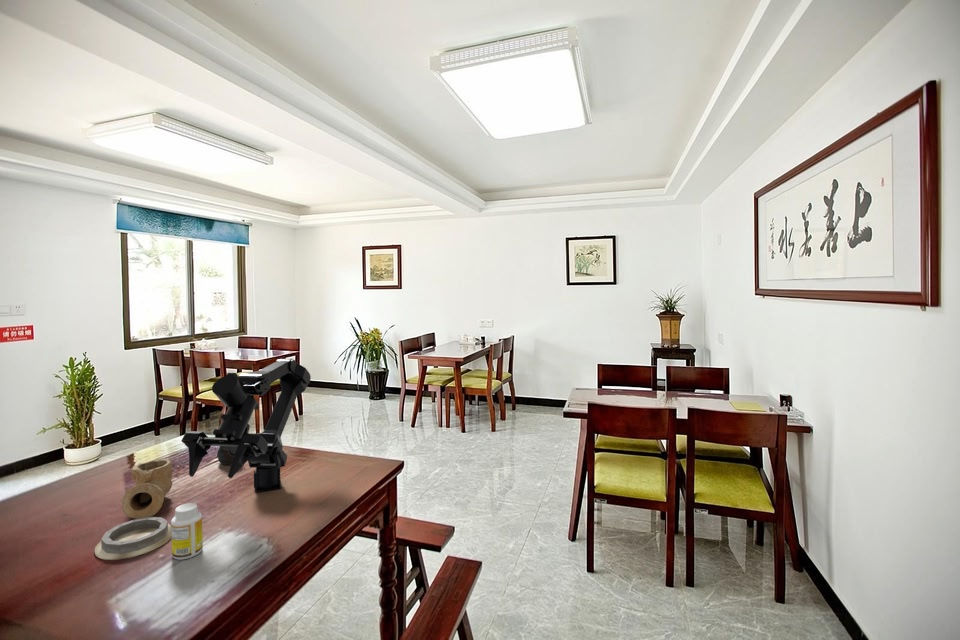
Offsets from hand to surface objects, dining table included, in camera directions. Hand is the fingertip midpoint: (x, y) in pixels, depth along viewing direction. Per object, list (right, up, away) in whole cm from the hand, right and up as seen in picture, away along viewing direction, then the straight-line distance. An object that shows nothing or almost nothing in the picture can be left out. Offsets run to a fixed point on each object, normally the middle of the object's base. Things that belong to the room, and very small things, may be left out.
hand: (210, 477), depth 102 cm
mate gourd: (-20, -11, +44) cm, 49 cm away
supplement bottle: (-1, -14, -7) cm, 16 cm away
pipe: (-24, -13, +13) cm, 30 cm away
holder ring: (-15, -13, -3) cm, 20 cm away
